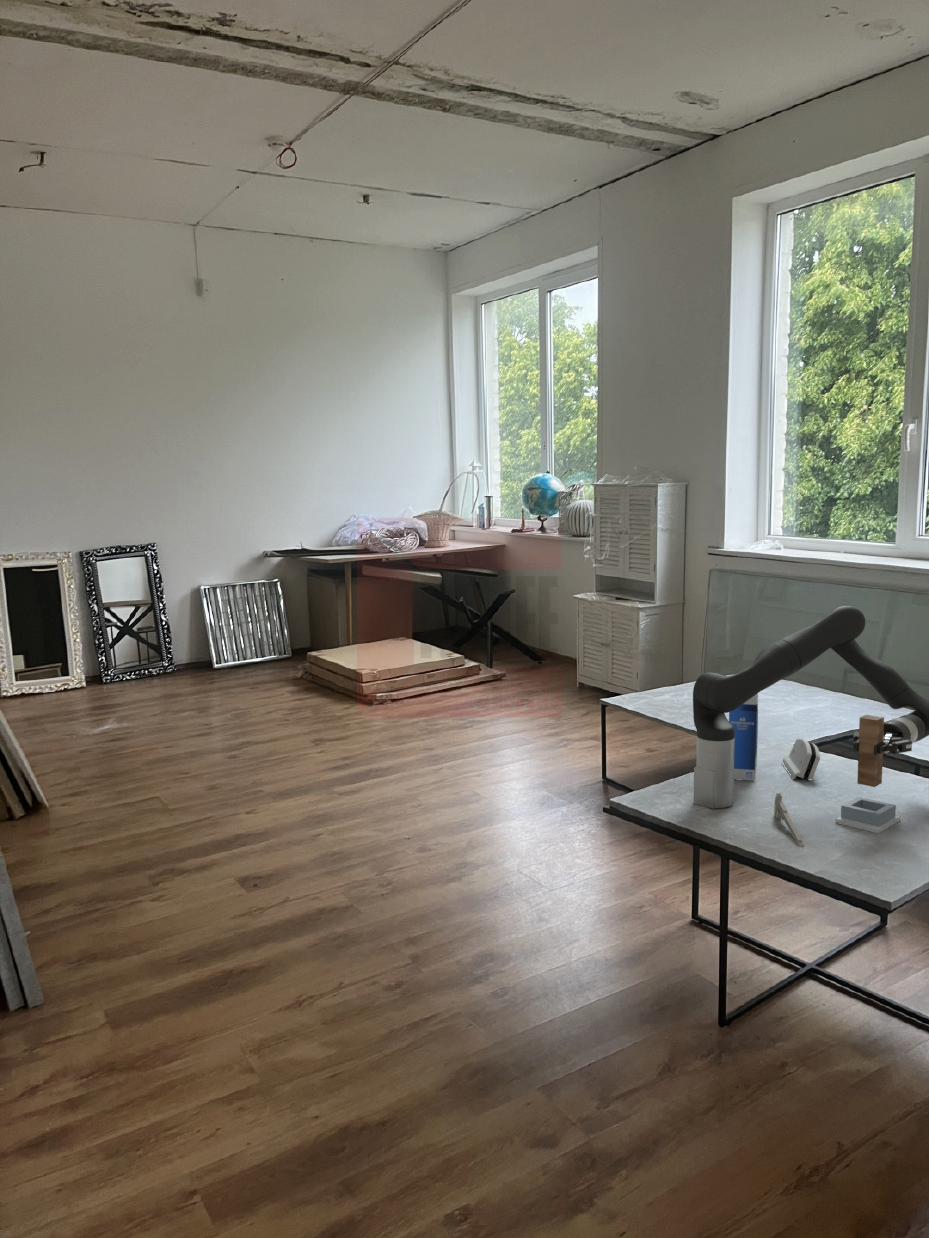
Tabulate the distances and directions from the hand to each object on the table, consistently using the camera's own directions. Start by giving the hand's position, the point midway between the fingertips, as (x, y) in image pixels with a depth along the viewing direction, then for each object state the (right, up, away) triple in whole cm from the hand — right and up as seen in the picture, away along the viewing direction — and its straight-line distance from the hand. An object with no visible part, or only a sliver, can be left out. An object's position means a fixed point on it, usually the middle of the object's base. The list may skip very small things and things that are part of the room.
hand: (865, 748), depth 211 cm
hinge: (+1, -13, +44) cm, 46 cm away
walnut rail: (+2, -9, +3) cm, 9 cm away
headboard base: (+2, -18, +4) cm, 18 cm away
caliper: (-18, -19, 0) cm, 27 cm away
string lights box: (-15, -14, +43) cm, 48 cm away
